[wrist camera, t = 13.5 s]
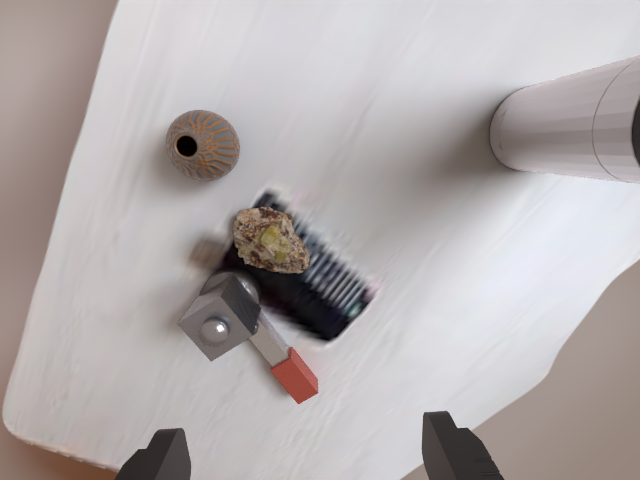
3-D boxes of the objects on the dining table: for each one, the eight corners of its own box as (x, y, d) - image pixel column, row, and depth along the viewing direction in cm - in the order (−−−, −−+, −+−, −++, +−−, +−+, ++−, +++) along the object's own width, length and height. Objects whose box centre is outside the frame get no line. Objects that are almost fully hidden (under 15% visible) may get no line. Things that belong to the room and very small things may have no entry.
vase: (229, 188, 38) (206, 199, 30) (173, 158, 37) (133, 161, 29) (255, 134, 37) (239, 130, 28) (198, 101, 36) (164, 87, 27)
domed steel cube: (233, 273, 38) (217, 300, 31) (261, 308, 39) (251, 341, 33) (196, 297, 39) (173, 328, 32) (225, 330, 40) (208, 367, 33)
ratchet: (239, 256, 41) (227, 275, 35) (329, 373, 46) (331, 407, 40) (195, 285, 41) (175, 308, 35) (287, 396, 47) (284, 433, 41)
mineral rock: (210, 250, 38) (245, 201, 35) (224, 232, 42) (256, 187, 38) (285, 299, 41) (325, 258, 37) (292, 278, 44) (328, 239, 41)
